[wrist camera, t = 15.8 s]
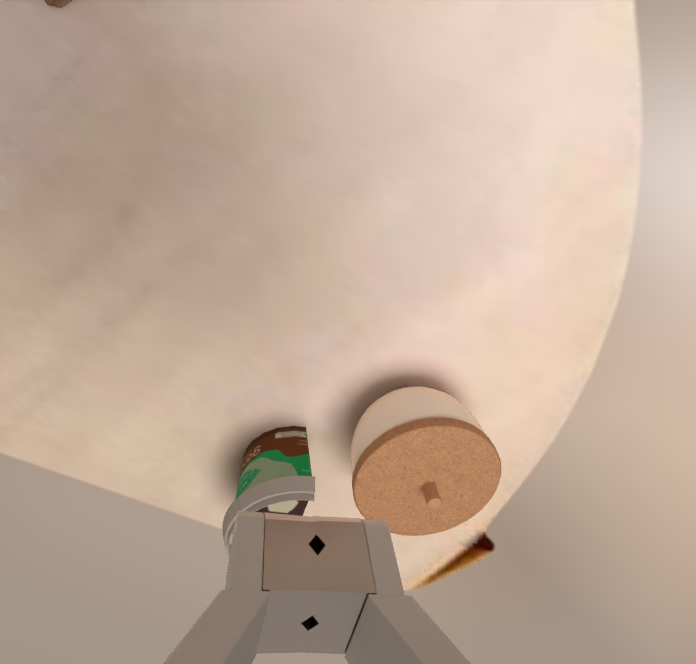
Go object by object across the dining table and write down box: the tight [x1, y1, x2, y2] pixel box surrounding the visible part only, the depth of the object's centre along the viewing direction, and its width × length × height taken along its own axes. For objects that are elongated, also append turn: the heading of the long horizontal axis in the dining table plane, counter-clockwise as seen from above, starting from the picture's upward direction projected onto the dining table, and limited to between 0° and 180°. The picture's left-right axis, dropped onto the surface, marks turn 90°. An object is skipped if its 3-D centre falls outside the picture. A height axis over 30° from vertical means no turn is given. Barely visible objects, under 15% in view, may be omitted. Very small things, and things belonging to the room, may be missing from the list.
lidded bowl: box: [351, 386, 501, 536], centre depth 44 cm, size 13×13×11 cm
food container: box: [223, 426, 315, 557], centre depth 45 cm, size 12×6×10 cm, turn 161°
